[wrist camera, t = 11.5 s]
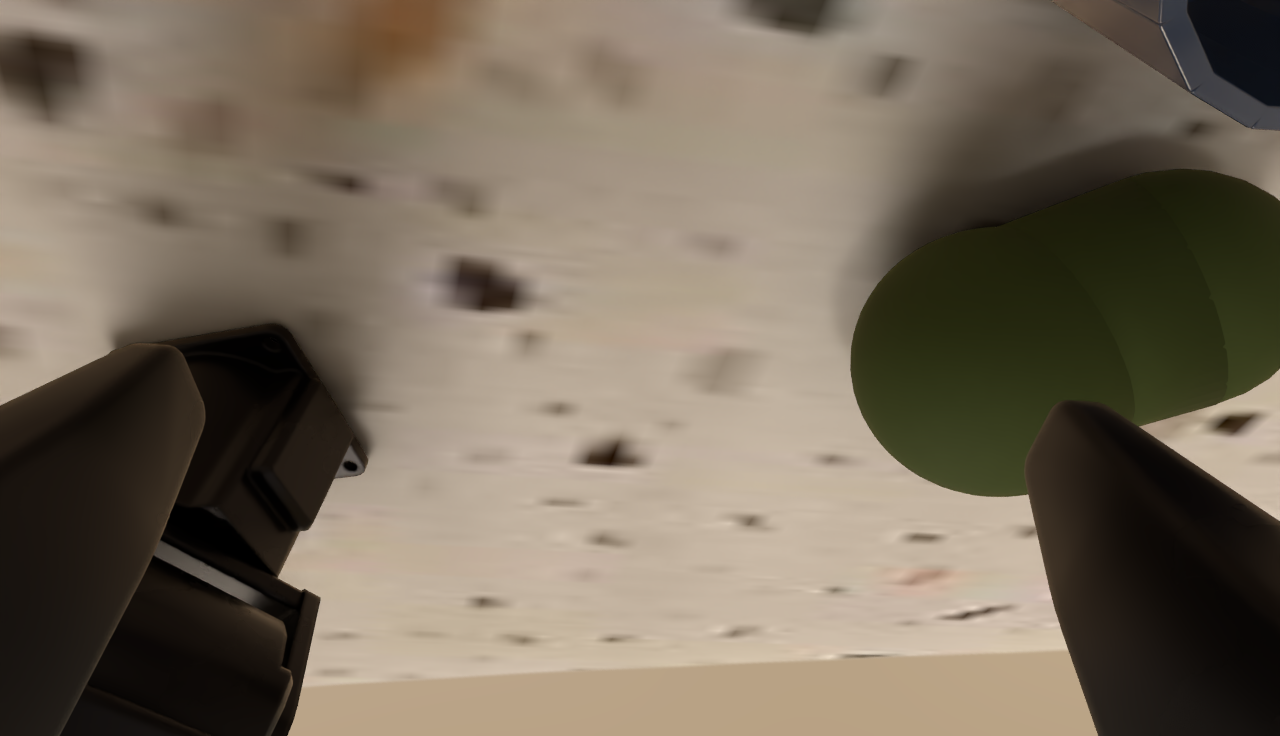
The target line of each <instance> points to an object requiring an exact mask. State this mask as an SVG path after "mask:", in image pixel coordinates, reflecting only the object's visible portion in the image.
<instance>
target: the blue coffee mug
mask: <svg viewBox="0 0 1280 736" xmlns="http://www.w3.org/2000/svg"><path fill="white" fill-rule="evenodd" d="M1050 1H1052V2H1053V3H1055V4H1056V5H1058V6H1059V7H1061V8H1062V9H1064V10H1065V11H1067V12H1068V13H1070V14H1071V15H1073V16H1074V17H1076V18H1077V19H1079V20H1081V21H1082V22H1084V23H1085V24H1087V25H1088V26H1090V27H1091V28H1093V29H1094V30H1096V31H1097V32H1099V33H1100V34H1102V35H1103V36H1105V37H1106V38H1108V39H1109V40H1111V41H1112V42H1114V43H1115V44H1117V45H1118V46H1120V47H1121V48H1123V49H1124V50H1126V51H1127V52H1129V53H1130V54H1132V55H1133V56H1135V57H1136V58H1138V59H1139V60H1141V61H1142V62H1144V63H1146V64H1147V65H1149V66H1150V67H1152V68H1153V69H1155V70H1156V71H1158V72H1159V73H1161V74H1162V75H1164V76H1165V77H1167V78H1168V79H1170V80H1171V81H1173V82H1174V83H1176V84H1177V85H1179V86H1180V87H1182V88H1183V89H1185V90H1186V91H1188V92H1189V93H1191V94H1193V95H1194V96H1196V97H1197V98H1199V99H1201V100H1202V101H1204V102H1206V103H1207V104H1209V105H1211V106H1212V107H1214V108H1216V109H1217V110H1219V111H1221V112H1222V113H1224V114H1226V115H1227V116H1229V117H1231V118H1232V119H1234V120H1236V121H1237V122H1239V123H1241V124H1242V125H1244V126H1246V127H1248V128H1252V129H1262V130H1278V131H1280V0H1050Z"/></svg>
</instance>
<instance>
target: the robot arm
mask: <svg viewBox="0 0 1280 736" xmlns="http://www.w3.org/2000/svg"><path fill="white" fill-rule="evenodd" d="M270 338H273V339H276V340H277V341H278V342H279V343H276V342H274V341H272V340H271V339H270ZM351 461H352V462H351ZM353 462H354V463H353ZM367 464H368V458H367V455H366V454H365V452H364V451H363V449H362V447H361V446H360V444H359V442H358V441H357V439H356V438H355V436H354V434H353V432H352V431H351V429H350V427H349V426H348V424H347V423H346V421H345V419H344V418H343V416H342V414H341V413H340V411H339V410H338V408H337V406H336V405H335V403H334V401H333V400H332V398H331V397H330V395H329V393H328V392H327V390H326V389H325V387H324V385H323V384H322V383H321V381H320V379H319V378H318V376H317V375H316V373H315V371H314V370H313V368H312V367H311V365H310V363H309V362H308V360H307V358H306V357H305V355H304V354H303V352H302V350H301V349H300V347H299V346H298V344H297V342H296V341H295V339H294V337H293V336H292V334H291V333H290V332H289V331H288V330H287V329H286V328H284V327H283V326H281V325H278V324H264V325H258V326H252V327H246V328H240V329H234V330H228V331H223V332H217V333H211V334H205V335H199V336H193V337H187V338H181V339H175V340H169V341H163V342H157V343H151V344H142V343H138V344H130V345H127V346H125V347H123V348H121V349H115V350H113V351H111V352H110V353H109V354H108V355H106V356H104V357H102V358H100V359H98V360H95V361H93V362H91V363H89V364H87V365H85V366H83V367H81V368H79V369H76V370H74V371H72V372H70V373H68V374H66V375H64V376H62V377H60V378H57V379H55V380H53V381H51V382H49V383H47V384H45V385H43V386H41V387H39V388H36V389H34V390H32V391H30V392H28V393H26V394H24V395H22V396H20V397H17V398H15V399H13V400H11V401H9V402H7V403H5V404H3V405H1V406H0V736H287V735H288V732H289V730H290V728H291V725H292V723H293V720H294V717H295V713H296V710H297V706H298V701H299V696H300V692H301V688H302V683H303V678H304V674H305V669H306V664H307V660H308V655H309V650H310V646H311V641H312V636H313V632H314V627H315V622H316V618H317V613H318V609H319V604H320V597H318V596H316V595H315V594H313V593H311V592H309V591H307V590H305V589H304V590H302V591H300V590H299V589H297V588H295V587H293V586H291V585H289V584H288V583H286V582H284V581H282V580H280V579H278V576H279V573H280V571H281V569H282V567H283V565H284V563H285V561H286V559H287V557H288V555H289V553H290V551H291V549H292V547H293V545H294V543H295V540H296V538H297V536H298V534H299V532H300V531H305V530H308V529H309V528H310V527H311V525H312V524H313V522H314V520H315V518H316V516H317V513H318V511H319V509H320V507H321V505H322V503H323V501H324V499H325V497H326V494H327V492H328V490H329V488H330V486H331V484H332V482H333V480H334V479H335V478H343V477H351V476H357V475H361V474H362V473H363V472H364V471H365V468H366V466H367ZM1024 473H1025V481H1026V486H1027V490H1028V495H1029V499H1030V504H1031V508H1032V513H1033V517H1034V521H1035V526H1036V530H1037V535H1038V539H1039V544H1040V548H1041V553H1042V557H1043V562H1044V566H1045V570H1046V575H1047V579H1048V584H1049V588H1050V592H1051V596H1052V600H1053V604H1054V607H1055V611H1056V614H1057V617H1058V620H1059V623H1060V627H1061V630H1062V633H1063V636H1064V638H1065V641H1066V644H1067V647H1068V650H1069V653H1070V656H1071V658H1072V662H1073V664H1074V667H1075V670H1076V673H1077V676H1078V678H1079V682H1080V685H1081V687H1082V690H1083V693H1084V696H1085V699H1086V702H1087V704H1088V708H1089V710H1090V713H1091V716H1092V719H1093V722H1094V725H1095V728H1096V731H1097V733H1098V736H1280V521H1278V520H1277V519H1275V518H1274V517H1272V516H1271V515H1269V514H1268V513H1266V512H1265V511H1263V510H1262V509H1260V508H1259V507H1257V506H1256V505H1255V504H1253V503H1252V502H1250V501H1249V500H1247V499H1246V498H1244V497H1243V496H1241V495H1240V494H1238V493H1237V492H1235V491H1234V490H1232V489H1231V488H1229V487H1228V486H1226V485H1225V484H1223V483H1222V482H1220V481H1219V480H1217V479H1216V478H1214V477H1213V476H1211V475H1210V474H1208V473H1207V472H1205V471H1204V470H1202V469H1201V468H1199V467H1198V466H1196V465H1195V464H1193V463H1192V462H1190V461H1189V460H1187V459H1186V458H1184V457H1183V456H1181V455H1180V454H1179V453H1177V452H1176V451H1174V450H1173V449H1171V448H1170V447H1168V446H1167V445H1165V444H1164V443H1162V442H1161V441H1159V440H1158V439H1156V438H1155V437H1153V436H1152V435H1150V434H1149V433H1147V432H1146V431H1144V430H1143V429H1141V428H1140V427H1138V426H1137V425H1135V424H1134V423H1132V422H1131V421H1129V420H1128V419H1126V418H1125V417H1123V416H1122V415H1120V414H1119V413H1117V412H1116V411H1114V410H1113V409H1111V408H1110V407H1108V406H1107V405H1105V404H1102V403H1099V402H1091V401H1074V400H1064V401H1060V402H1058V403H1057V404H1056V405H1054V406H1053V407H1052V409H1051V410H1050V412H1049V414H1048V416H1047V418H1046V420H1045V421H1044V423H1043V425H1042V427H1041V429H1040V431H1039V433H1038V435H1037V437H1036V439H1035V441H1034V443H1033V444H1032V446H1031V448H1030V450H1029V452H1028V454H1027V457H1026V461H1025V468H1024Z"/></svg>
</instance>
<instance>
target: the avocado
mask: <svg viewBox="0 0 1280 736" xmlns="http://www.w3.org/2000/svg"><path fill="white" fill-rule="evenodd" d="M1279 369H1280V201H1279V200H1278V199H1277V198H1276V197H1274V196H1273V195H1271V194H1269V193H1268V192H1266V191H1264V190H1262V189H1260V188H1258V187H1256V186H1255V185H1253V184H1251V183H1249V182H1247V181H1245V180H1242V179H1238V178H1235V177H1231V176H1228V175H1224V174H1220V173H1217V172H1213V171H1205V170H1191V169H1174V170H1165V171H1155V172H1146V173H1143V174H1139V175H1136V176H1132V177H1129V178H1125V179H1122V180H1119V181H1116V182H1114V183H1111V184H1108V185H1106V186H1103V187H1101V188H1098V189H1095V190H1093V191H1090V192H1087V193H1085V194H1082V195H1079V196H1077V197H1074V198H1072V199H1069V200H1066V201H1064V202H1061V203H1058V204H1056V205H1053V206H1050V207H1048V208H1045V209H1043V210H1040V211H1037V212H1035V213H1032V214H1029V215H1027V216H1024V217H1021V218H1019V219H1016V220H1014V221H1011V222H1008V223H1006V224H1003V225H1000V226H998V227H985V228H976V229H971V230H966V231H962V232H957V233H954V234H951V235H948V236H945V237H942V238H940V239H937V240H935V241H933V242H931V243H928V244H926V245H925V246H923V247H921V248H919V249H918V250H916V251H914V252H913V253H911V254H910V255H908V256H907V257H906V258H904V259H903V260H901V261H900V262H899V263H898V264H897V265H896V266H894V267H893V268H892V269H891V270H890V271H889V272H888V273H887V274H886V275H885V276H884V277H883V279H882V280H881V281H880V282H879V283H878V285H877V286H876V287H875V289H874V290H873V292H872V293H871V295H870V296H869V298H868V300H867V302H866V303H865V305H864V307H863V309H862V311H861V313H860V316H859V319H858V321H857V324H856V328H855V331H854V335H853V340H852V346H851V369H850V370H851V377H852V383H853V389H854V394H855V397H856V400H857V403H858V406H859V408H860V411H861V413H862V416H863V418H864V419H865V421H866V423H867V425H868V426H869V428H870V430H871V431H872V433H873V434H874V436H875V437H876V438H877V440H878V441H879V442H880V443H881V445H882V446H883V447H884V448H885V449H886V450H887V451H888V452H889V453H890V454H891V455H892V456H893V457H894V458H895V459H896V460H897V461H899V462H900V463H901V464H902V465H904V466H905V467H906V468H908V469H909V470H911V471H912V472H914V473H915V474H917V475H918V476H920V477H922V478H924V479H926V480H928V481H930V482H933V483H935V484H937V485H939V486H941V487H944V488H947V489H951V490H954V491H958V492H962V493H966V494H971V495H977V496H987V497H1008V496H1020V495H1027V494H1028V490H1027V486H1026V481H1025V473H1024V468H1025V461H1026V457H1027V454H1028V452H1029V450H1030V448H1031V446H1032V444H1033V443H1034V441H1035V439H1036V437H1037V435H1038V433H1039V431H1040V429H1041V427H1042V425H1043V423H1044V421H1045V420H1046V418H1047V416H1048V414H1049V412H1050V410H1051V409H1052V407H1053V406H1054V405H1056V404H1057V403H1058V402H1060V401H1064V400H1074V401H1091V402H1099V403H1102V404H1105V405H1107V406H1108V407H1110V408H1111V409H1113V410H1114V411H1116V412H1117V413H1119V414H1120V415H1122V416H1123V417H1125V418H1126V419H1128V420H1129V421H1131V422H1132V423H1134V424H1135V425H1137V426H1138V427H1139V426H1142V425H1146V424H1149V423H1153V422H1156V421H1160V420H1163V419H1167V418H1170V417H1174V416H1177V415H1181V414H1184V413H1188V412H1192V411H1195V410H1199V409H1202V408H1206V407H1209V406H1213V405H1216V404H1218V403H1220V402H1223V401H1226V400H1228V399H1231V398H1233V397H1236V396H1239V395H1241V394H1244V393H1246V392H1248V391H1250V390H1251V389H1253V388H1254V387H1256V386H1258V385H1259V384H1261V383H1263V382H1264V381H1266V380H1267V379H1269V378H1270V377H1271V376H1272V375H1274V374H1275V373H1276V372H1277V371H1278V370H1279Z"/></svg>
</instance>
